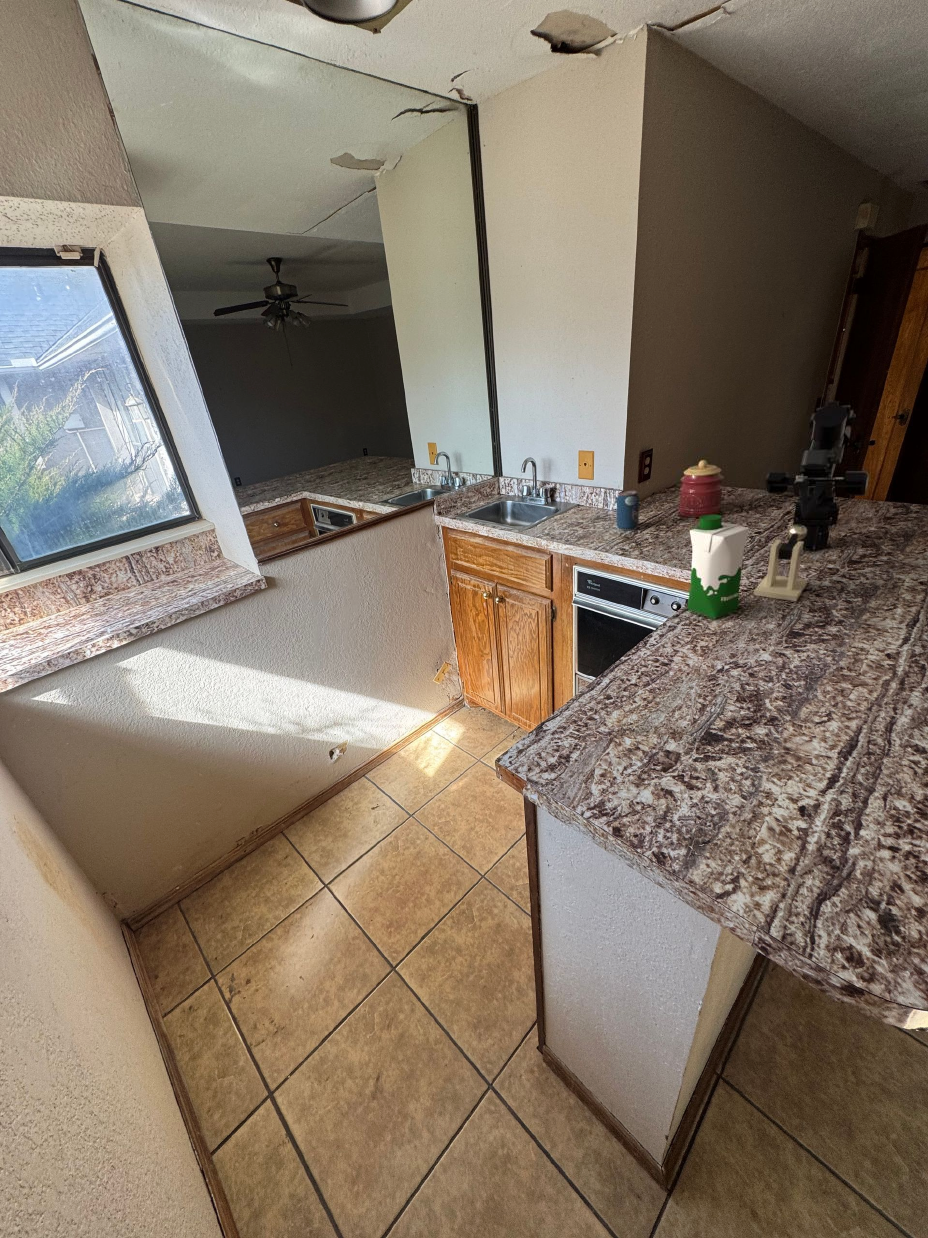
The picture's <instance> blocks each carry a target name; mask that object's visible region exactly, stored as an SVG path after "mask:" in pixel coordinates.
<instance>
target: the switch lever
mask: <svg viewBox="0 0 928 1238" xmlns="http://www.w3.org/2000/svg"><path fill="white" fill-rule="evenodd" d="M806 534H807V529H806V527H805V526H803V525H800V524H796V525H793V524H792V525H791V526H790V527H789V528H788V529H787V536H788V538H789V539H788V541H787V543H786V542H785V543H781V547H780V549H779V556H778V559H779V560H783V561H791V559H792V553H793V548H794V544H795V542H796V541H797V540H801V539H803V538H804V537H805V536H806Z"/></svg>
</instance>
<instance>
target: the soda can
mask: <svg viewBox="0 0 928 1238" xmlns="http://www.w3.org/2000/svg"><path fill="white" fill-rule="evenodd" d="M639 505H640V497H639V495H638V491H636V490H623V491H619V492H618V495H617V498H616V527H617V529H619V530H620V531H627V532H628V531H633V530H635V529H637V528H638V526H639V521H640V519H639V518H640V517H639V516H640V515H639V514H640V513H639V509H640V508H639V507H640V506H639Z"/></svg>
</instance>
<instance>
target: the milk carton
mask: <svg viewBox="0 0 928 1238" xmlns="http://www.w3.org/2000/svg"><path fill="white" fill-rule="evenodd" d="M749 532H750V527H749V526H742V525H738V524H736V523H729V522H723V516H722V515H719V514H716V515H703V516H701V517H699V523H698V526H697V527H694V528H693V529H690V530H689V535H690V542H691V548H692V553H691V555H692V556H691V569H690V571H691V572H690V584H689V585H690V587H689V593H688V600H687V607H686V609H687V610H689V611H692V612H695V613H698V614H701V615H703V616H705V617H709V618H711V619H714V620H717V619H720V618H721V617H724V616H727V615H728V614H730V613H732V612H735V611H736V610H739V602H740V601H739V599H740V586H741V577H742V570H743V561H744V553H745V547H746V543H747V539H748V536H749Z"/></svg>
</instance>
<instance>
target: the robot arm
mask: <svg viewBox="0 0 928 1238" xmlns="http://www.w3.org/2000/svg"><path fill="white" fill-rule="evenodd" d="M839 403H840V400H836V401H835V400H834V401H827V405H826V406H822V407H817V408H816V411H815V412H813V413H812V414H811V417H810V420H809V427H808V428H809V430H812V434H811V438H810V444H809V449H807V450H804V451H803V455H802V459H801V462H800V470H799V474H800V475H795V477H789V471H787V470H785V471H782V470H779V471H777V470H776V471H773V470H772V471H770V472H769V473H768V474H767V475H766V477H765V480H764V482H765V487H766V493H768V494H773V495H774V494H775V495H776V494H777V495H783V494H785V493H787V492H788V489H789V488H792V492H793V496H794V497H795V498H799V501H796V503H795V507H794V515H793V520H792V521H793V522H792V526H793V525H796V524H800V525H803V526H805V527H806V529H807V534H806V536H805V537H804V538H803V539H801V540H797V541H796V542H795V544H794V546H795V545H796V544H797V542H798V541H802V542H804V544H803V549H802V550H804V551H808V552H814V551H818V550H821V549H824V548H827V547H830V545H831V544H830V543H828V541H829V536H830V530H829V528H830V527H833V526H835V525H837V523H838V519H839V514H840V506H839V505H838V501H835V498H836V488H843V493H844V494H845V495H846V496H854V497H855V496H857V497H859V496H860V497H862V496H864V495H866V493H867V489H868V486H869V485H868V484H869V476H870V474H869V472H868V471H866V470H846V472H845V473H844V477H842V476H841V477H837V476H835V477H833V475H834V471H835V468H836V465H841V463H842V459H843V455H844V451H845V452H846V451H847V450H848V446H849V441H850V436H851V430H852V427H851V426H852V424H853V423H854V424H855V422H856V418H857V417H856V414H855V412H854V409H851V405H850V404H847V405H840V404H839Z"/></svg>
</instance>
